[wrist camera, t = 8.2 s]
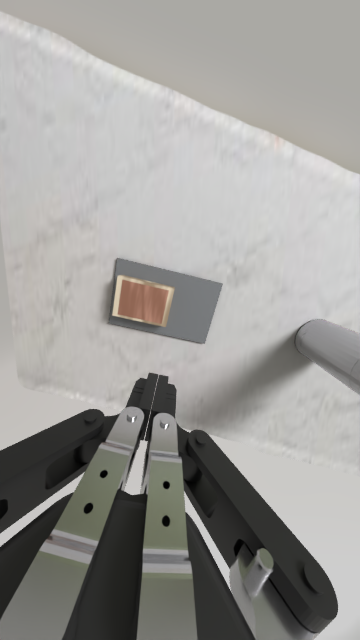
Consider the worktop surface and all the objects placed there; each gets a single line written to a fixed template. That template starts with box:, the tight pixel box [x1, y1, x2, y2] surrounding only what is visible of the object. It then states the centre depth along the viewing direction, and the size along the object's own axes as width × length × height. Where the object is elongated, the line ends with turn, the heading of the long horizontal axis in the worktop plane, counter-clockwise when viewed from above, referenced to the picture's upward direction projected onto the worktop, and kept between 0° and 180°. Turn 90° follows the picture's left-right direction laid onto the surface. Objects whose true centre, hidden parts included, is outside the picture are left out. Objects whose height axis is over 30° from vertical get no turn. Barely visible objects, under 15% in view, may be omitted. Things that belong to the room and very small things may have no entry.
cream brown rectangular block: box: [112, 275, 175, 327], centre depth 37 cm, size 3×8×11 cm
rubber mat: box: [109, 258, 223, 344], centre depth 39 cm, size 22×14×1 cm, turn 77°
